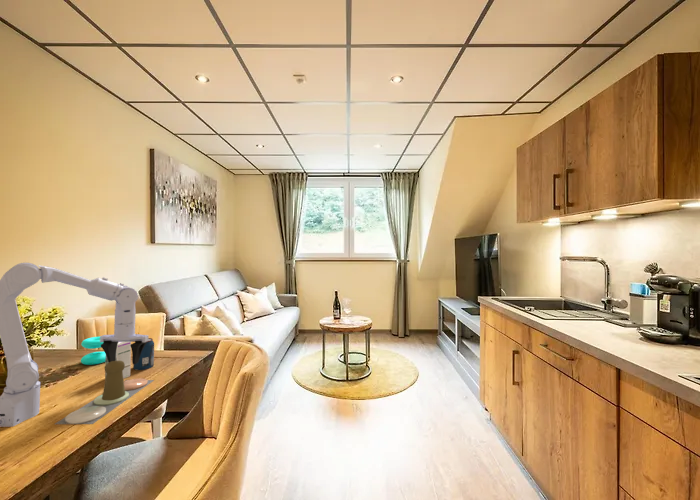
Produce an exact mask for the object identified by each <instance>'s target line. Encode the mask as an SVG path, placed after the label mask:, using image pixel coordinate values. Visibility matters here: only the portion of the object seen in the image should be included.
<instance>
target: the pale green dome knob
mask: <svg viewBox="0 0 700 500" xmlns="http://www.w3.org/2000/svg"><path fill="white" fill-rule="evenodd" d="M102 396H103V393H102V394H99V395H98V396H96V397H95V398H94V399H93V400H94V404H95V405H99V406H104V405H111V404H115V403H119V402H121V401H124V400H125V399H127V398H128V397H129V393H128V392H126V391H125V395H124V396H123V397H121V398H118V399H115V400H103V399H102ZM127 400H128V399H127ZM124 402H125V401H124Z"/></svg>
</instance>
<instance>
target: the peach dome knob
mask: <svg viewBox="0 0 700 500" xmlns="http://www.w3.org/2000/svg"><path fill="white" fill-rule="evenodd" d="M126 380H127V381H125V380H124V387H125V391H128V390H134V389H138V388H141V387H143V386H145V385H147V383H148V380H149V379H146V378H132V379H126ZM147 386H148V385H147Z"/></svg>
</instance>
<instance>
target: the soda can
mask: <svg viewBox="0 0 700 500" xmlns="http://www.w3.org/2000/svg"><path fill="white" fill-rule="evenodd" d="M154 361H155V342H154V339H153V338H151V337H150V338H149V337H148V341H147V343H146V345H145V346H144V348H143V350H142V352H141V355H140V358H139V362H138V363H136V364H133V363H132V365H133V367H132V368H133V370H135V371H144V370H149V369H152V368H153V367H154V364H155V362H154Z"/></svg>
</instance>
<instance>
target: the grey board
mask: <svg viewBox="0 0 700 500" xmlns="http://www.w3.org/2000/svg"><path fill="white" fill-rule="evenodd" d="M127 380H128V379H126V380H124V381H127ZM147 380H148V383H147V385H145V386H143V387H141V388H138V389H134V390H128V391H126V392H128V393H129V397H128V398H127V399H125V400H124V401H121V402H119V403H115V404H111V405H104V406H103V407H105V408H106V413H105V414H104V415H103V416H101V417H99V418H97V419H95V420H92V421H89V422H85V423H80V424H79V425H94V424H95V423H96V422H97V421H99V420H101V419H102V418H104V416H106V415H108V414H109V413H110V412H112V411H113V410H115V409H116V408H117V407H119V406H120V405H122V404H123V403H124V402H125V401H127V400H129V399H130V398H132V397H133V396H134V395H136V394H138V393H139V392H140V391H141V390H143V389H144V388H145V387H147V386H149V385H150V384H151V383H152V382H154V381H155V379H150V380H149V379H147ZM91 406H99V405H95V404H94V399H93V400H91V401H90V402H88V403H86V404H85V405H83V406H81V407H79V409H82V408H86V407H91ZM79 409H77V410H79ZM65 418H66V416H65V417H64V418H62V419H60V420H59V421H57V422H55V423H54V425H69V424H68V423H66V422H65Z"/></svg>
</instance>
